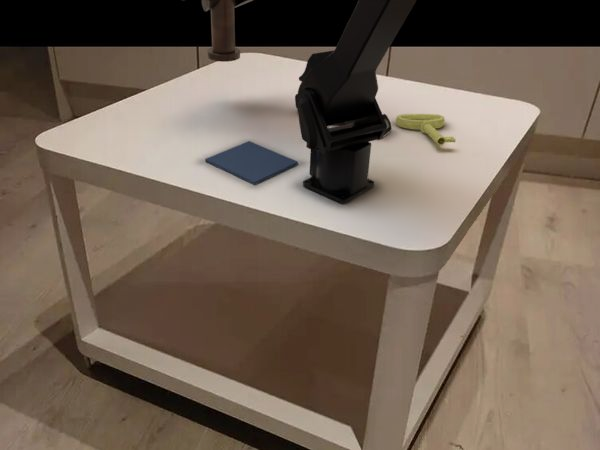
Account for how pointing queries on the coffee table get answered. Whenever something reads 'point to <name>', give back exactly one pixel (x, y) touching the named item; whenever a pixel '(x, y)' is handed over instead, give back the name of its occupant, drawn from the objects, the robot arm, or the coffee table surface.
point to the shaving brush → (223, 32)
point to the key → (425, 125)
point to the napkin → (251, 162)
